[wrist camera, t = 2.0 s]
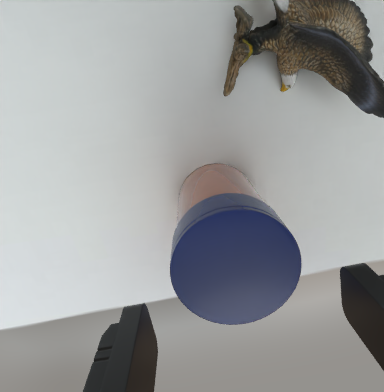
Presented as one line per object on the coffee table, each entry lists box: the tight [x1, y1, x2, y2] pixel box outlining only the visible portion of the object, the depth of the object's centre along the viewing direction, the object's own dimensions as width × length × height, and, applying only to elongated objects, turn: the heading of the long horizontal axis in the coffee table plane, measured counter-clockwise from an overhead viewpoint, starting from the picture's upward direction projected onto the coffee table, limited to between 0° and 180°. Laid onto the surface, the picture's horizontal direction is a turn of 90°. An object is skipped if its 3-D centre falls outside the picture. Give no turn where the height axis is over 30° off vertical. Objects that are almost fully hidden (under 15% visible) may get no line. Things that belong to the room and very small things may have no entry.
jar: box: [177, 164, 263, 225], centre depth 18 cm, size 5×5×9 cm
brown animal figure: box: [223, 0, 384, 118], centre depth 17 cm, size 8×7×9 cm
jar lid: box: [170, 193, 301, 325], centre depth 15 cm, size 6×6×2 cm
